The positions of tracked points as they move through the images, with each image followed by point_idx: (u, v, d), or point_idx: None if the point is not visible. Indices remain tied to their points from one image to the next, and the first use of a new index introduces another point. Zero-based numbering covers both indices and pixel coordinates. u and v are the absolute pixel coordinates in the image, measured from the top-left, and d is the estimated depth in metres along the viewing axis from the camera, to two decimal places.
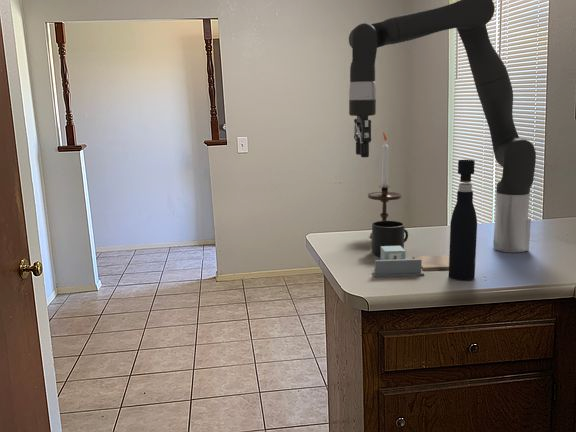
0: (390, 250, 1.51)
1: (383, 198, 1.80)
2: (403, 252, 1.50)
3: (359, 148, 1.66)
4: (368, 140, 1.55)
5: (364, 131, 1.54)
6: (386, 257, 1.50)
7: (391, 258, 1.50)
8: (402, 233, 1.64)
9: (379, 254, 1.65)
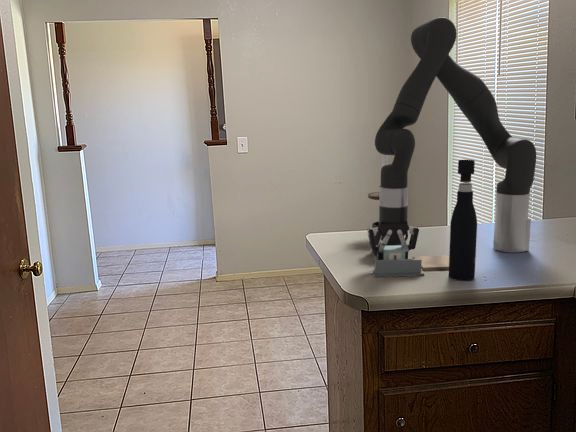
0: (390, 250, 1.51)
1: None
2: (403, 252, 1.50)
3: None
4: None
5: None
6: (386, 257, 1.50)
7: (391, 258, 1.50)
8: None
9: None
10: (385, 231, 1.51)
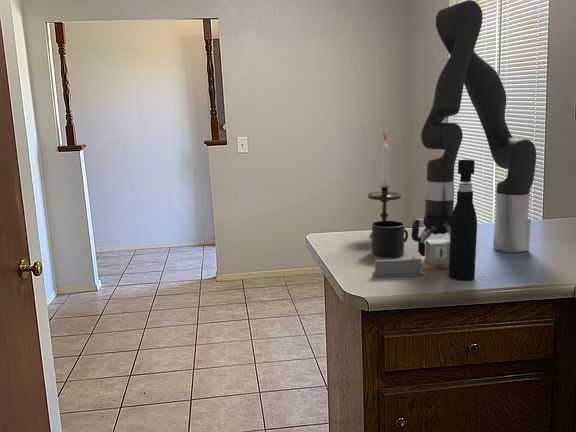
0: (436, 243, 1.53)
1: (383, 198, 1.80)
2: (449, 245, 1.52)
3: None
4: None
5: None
6: (432, 250, 1.53)
7: (437, 252, 1.53)
8: (402, 233, 1.64)
9: (379, 254, 1.65)
10: (431, 223, 1.53)
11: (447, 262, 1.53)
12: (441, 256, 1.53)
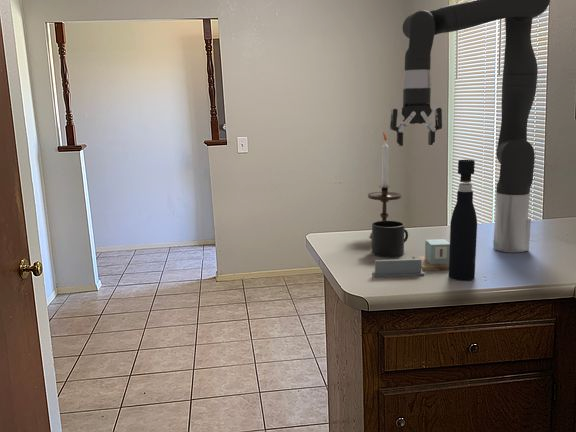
0: (436, 243, 1.53)
1: (383, 198, 1.80)
2: (449, 245, 1.52)
3: None
4: None
5: None
6: (432, 250, 1.53)
7: (437, 252, 1.53)
8: (402, 233, 1.64)
9: (379, 254, 1.65)
10: (409, 112, 1.57)
11: (447, 262, 1.53)
12: (441, 256, 1.53)
